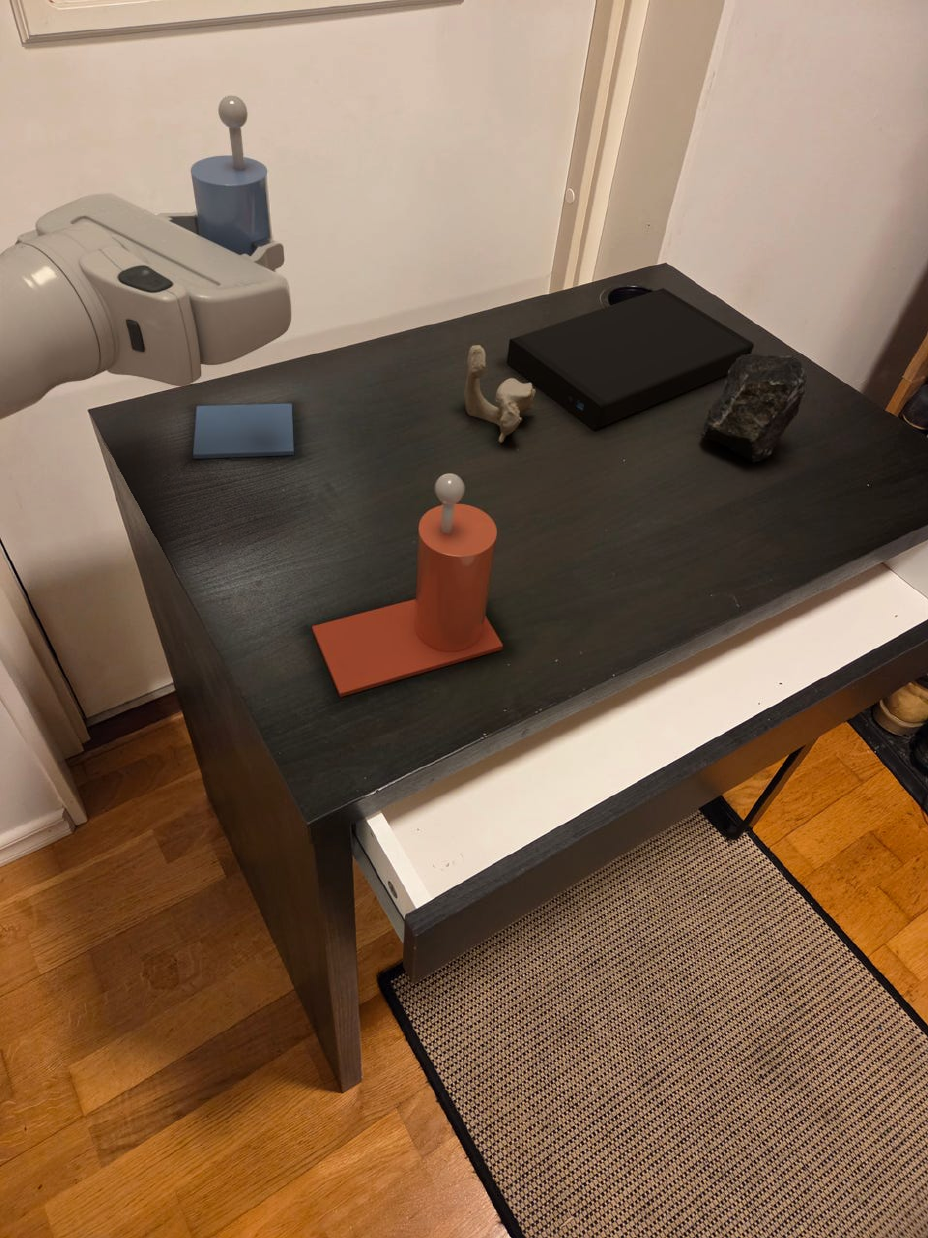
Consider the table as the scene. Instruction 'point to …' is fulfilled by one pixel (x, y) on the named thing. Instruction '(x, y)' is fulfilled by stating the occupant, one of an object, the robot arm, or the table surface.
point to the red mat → (386, 648)
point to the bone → (509, 396)
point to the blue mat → (243, 431)
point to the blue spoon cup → (232, 190)
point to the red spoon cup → (453, 569)
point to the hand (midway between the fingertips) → (246, 235)
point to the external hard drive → (626, 356)
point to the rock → (756, 404)
